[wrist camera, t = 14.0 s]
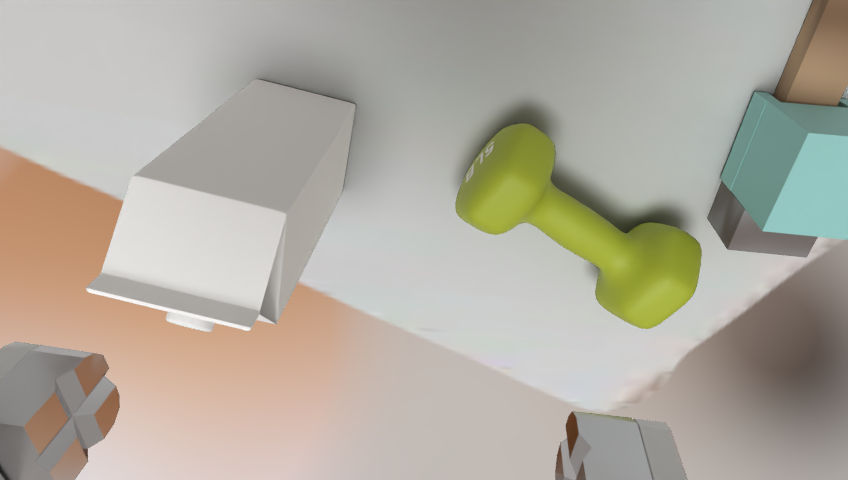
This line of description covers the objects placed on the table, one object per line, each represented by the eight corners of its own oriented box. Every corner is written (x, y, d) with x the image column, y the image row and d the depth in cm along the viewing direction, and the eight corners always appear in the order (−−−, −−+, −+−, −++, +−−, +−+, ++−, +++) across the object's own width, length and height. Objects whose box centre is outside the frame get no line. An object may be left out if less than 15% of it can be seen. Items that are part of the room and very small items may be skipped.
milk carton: (255, 77, 37) (73, 220, 21) (357, 103, 37) (254, 264, 21) (251, 168, 41) (95, 347, 25) (343, 191, 41) (247, 384, 25)
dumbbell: (447, 181, 39) (439, 233, 33) (517, 93, 35) (521, 135, 29) (615, 291, 43) (634, 356, 37) (695, 223, 39) (731, 284, 33)
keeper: (754, 91, 33) (807, 132, 28) (848, 99, 33) (922, 142, 27) (720, 178, 37) (761, 231, 31) (805, 186, 36) (862, 241, 31)
